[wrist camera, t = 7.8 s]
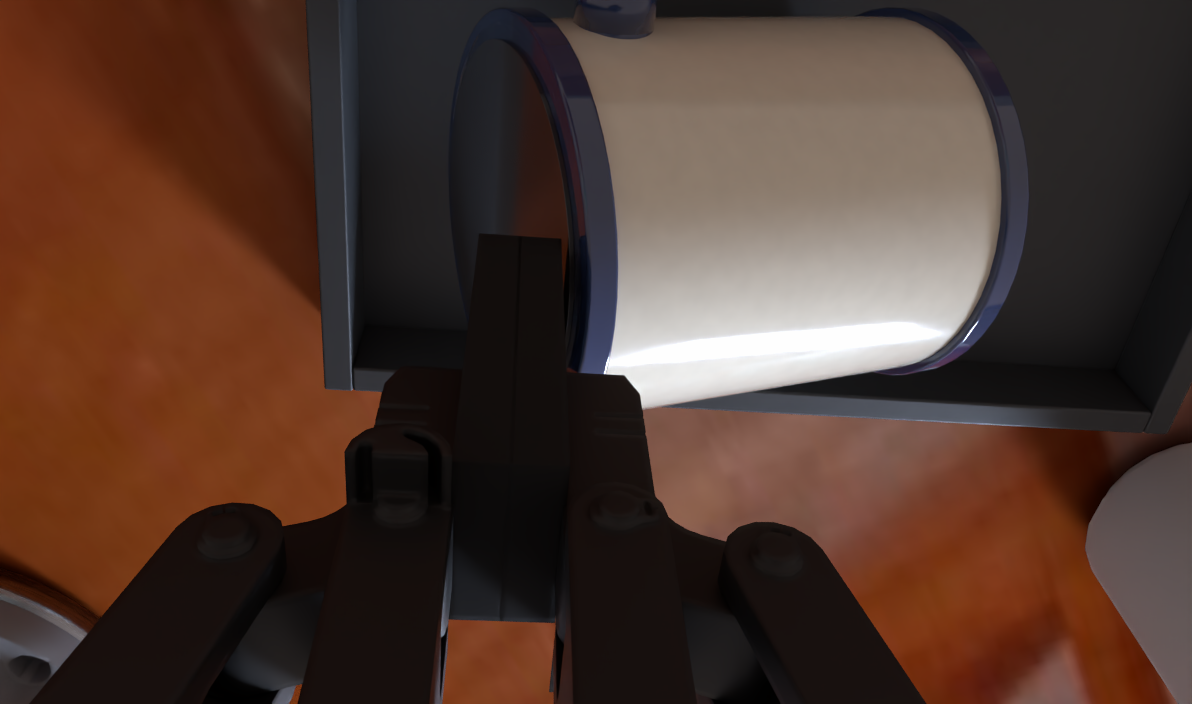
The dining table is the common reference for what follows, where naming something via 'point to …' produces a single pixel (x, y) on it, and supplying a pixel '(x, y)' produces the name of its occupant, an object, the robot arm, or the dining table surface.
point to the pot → (744, 188)
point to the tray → (946, 394)
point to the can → (1151, 560)
